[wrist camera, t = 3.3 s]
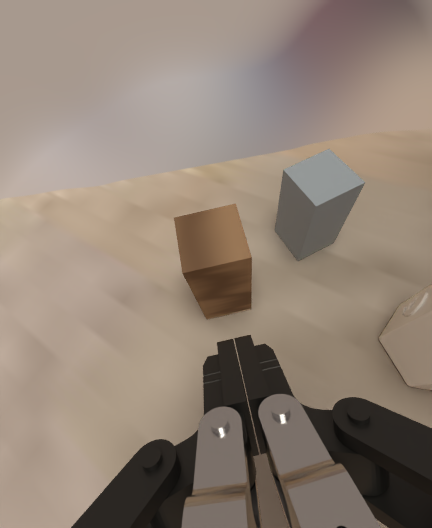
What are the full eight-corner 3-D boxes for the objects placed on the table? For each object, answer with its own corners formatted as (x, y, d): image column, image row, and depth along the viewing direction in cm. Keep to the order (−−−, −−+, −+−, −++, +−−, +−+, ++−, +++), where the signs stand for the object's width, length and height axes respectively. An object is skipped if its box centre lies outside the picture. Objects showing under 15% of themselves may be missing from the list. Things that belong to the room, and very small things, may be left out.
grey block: (308, 213, 34) (328, 148, 26) (333, 242, 32) (365, 182, 23) (274, 230, 34) (283, 169, 25) (297, 261, 32) (316, 206, 23)
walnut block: (240, 269, 32) (235, 203, 21) (251, 309, 30) (251, 257, 19) (199, 279, 32) (174, 217, 21) (206, 319, 30) (182, 273, 19)
